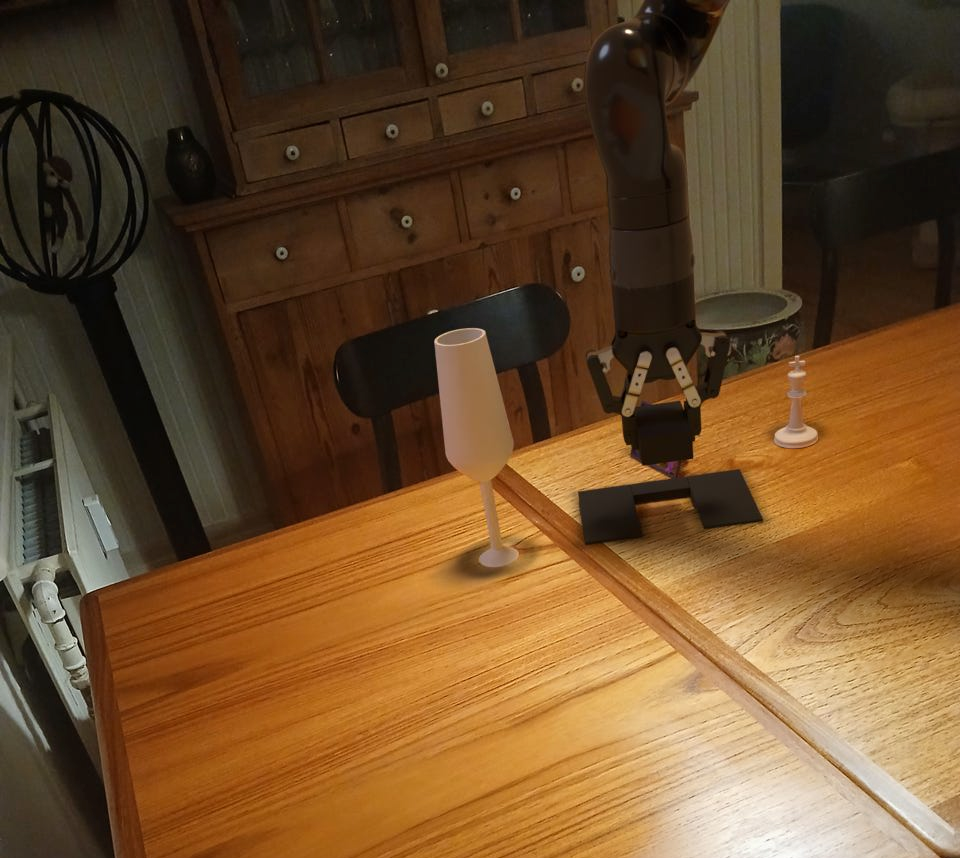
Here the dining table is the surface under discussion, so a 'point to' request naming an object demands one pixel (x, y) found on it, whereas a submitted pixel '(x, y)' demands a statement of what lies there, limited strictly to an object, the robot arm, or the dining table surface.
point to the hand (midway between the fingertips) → (662, 442)
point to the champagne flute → (475, 422)
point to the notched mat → (711, 494)
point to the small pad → (663, 433)
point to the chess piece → (796, 414)
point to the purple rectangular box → (667, 471)
